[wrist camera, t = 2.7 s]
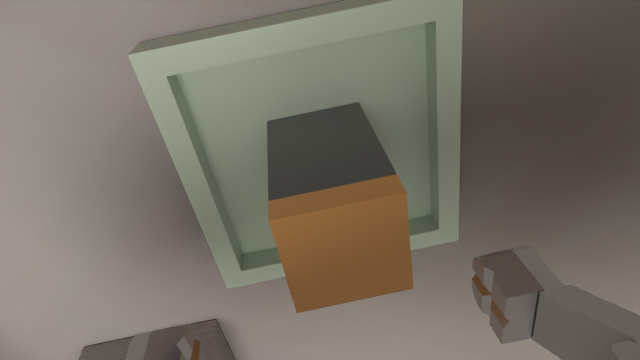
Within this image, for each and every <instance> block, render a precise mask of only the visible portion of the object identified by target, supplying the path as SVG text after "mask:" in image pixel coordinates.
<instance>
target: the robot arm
mask: <svg viewBox="0 0 640 360" xmlns="http://www.w3.org/2000/svg"><path fill="white" fill-rule="evenodd" d="M472 268H473V269H474V271H475V272H476V274H475V276H474V277H473V278H472V289H473V293H474V297H475V299H476V302H477V304H478V306H479V307H480V309H481V311H482V312H484V313H486V314H488V315H489V316H490V326H491V327H492V329H493V331H494V332H495V334H496V336H497V337H498V339H499V340H500V342H501V344H504V343H509V342H514V341H519V340H524V339H529V338H532V340H534V341H535V342H537V343H538V344H540V345H541V346H543V347H544V348H546V349H547V350H549V351H550V352H552V353H553V354H555V355H556V356H558V357H559V358H560V359H562V360H640V315H637V314H635V313H633V312H631V311H628V310H626V309H624V308H622V307H619V306H617V305H615V304H612V303H610V302H608V301H606V300H603V299H601V298H599V297H597V296H594V295H592V294H590V293H587V292H585V291H583V290H581V289H578V288H576V287H574V286H571V285H567V286H564V285H563V283H562V282H561V281H560V280H559V279H558V278H557V277H556V276H555V275H554V273H553V272H552V271H551V270H550V269H549V268H548V267H547V266H546V264H545V263H544V262H543V261H542V260H541V259H540V258H539V257H538V256H537V254H536V253H535V252H534V251H533V250H532V249H531V248H530V247H529V246H527V245H525V246H521V247H517V248H512V249H509V250H503V251H499V252H495V253H491V254H487V255H483V256H479V257H475V258H474V260H473V266H472ZM194 337H195V330H194V328H193V327H192V325H191V324H185V325H180V326H175V327H170V328H165V329H160V330H155V331H152V332H147V333H142V334H137V335H135V336H134V337H133V339H132V340H131V342H130V346H129V349H128V352H127V355H126V359H125V360H206V355H205V351H204V348H203V346H202V344H201V342H200V341H198V340H196V339H194Z"/></svg>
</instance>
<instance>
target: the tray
mask: <svg viewBox="0 0 640 360" xmlns="http://www.w3.org/2000/svg"><path fill="white" fill-rule="evenodd" d="M462 21H463V0H344V1H339V2H334V3H329V4H324V5H320V6H315V7H310V8H305V9H300V10H295V11H290V12H286V13H281V14H276V15H271V16H266V17H261V18H256V19H252V20H247V21H242V22H237V23H232V24H227V25H222V26H218V27H213V28H208V29H203V30H198V31H193V32H188V33H183V34H179V35H174V36H169V37H164V38H159V39H154V40H149V41H145V42H140V43H139V44H138V45H137V46H136V47H135V48H134V49H133V50H132V51H131V52H130V53H129V54H128V57H129V59H130V62H131V64H132V66H133V69H134V71H135V73H136V76H137V78H138V80H139V83H140V85H141V87H142V90H143V92H144V95H145V97H146V99H147V102H148V104H149V106H150V109H151V111H152V113H153V116H154V118H155V120H156V123H157V125H158V127H159V130H160V132H161V134H162V137H163V139H164V142H165V144H166V146H167V149H168V151H169V153H170V156H171V158H172V160H173V163H174V165H175V167H176V170H177V172H178V174H179V177H180V179H181V182H182V184H183V186H184V189H185V191H186V193H187V196H188V198H189V200H190V203H191V205H192V207H193V210H194V212H195V214H196V217H197V219H198V221H199V224H200V226H201V229H202V231H203V233H204V236H205V238H206V240H207V243H208V245H209V247H210V250H211V252H212V254H213V257H214V259H215V261H216V264H217V266H218V269H219V271H220V273H221V276H222V278H223V280H224V283H225V285H226V287H227V289H231V288H236V287H240V286H245V285H250V284H255V283H259V282H264V281H269V280H274V279H278V278H283V277H286V276H285V273H284V269H283V266H282V263H281V260H280V256H279V253H278V250H277V247H276V243H275V240H274V237H273V233H272V230H271V227H270V224H269V207H268V153H267V121H270V120H274V119H279V118H284V117H289V116H294V115H298V114H303V113H308V112H313V111H318V110H323V109H327V108H332V107H337V106H342V105H347V104H351V103H356V102H359V104H360V106H361V108H362V109H363V111H364V113H365V115H366V117H367V119H368V121H369V123H370V124H371V126H372V128H373V130H374V132H375V134H376V136H377V138H378V139H379V141H380V143H381V145H382V147H383V149H384V151H385V153H386V154H387V156H388V158H389V160H390V162H391V164H392V166H393V168H394V169H395V171H396V173H397V175H398V177H399V179H400V181H401V183H402V184H403V186H404V188H405V190H406V192H407V204H408V219H409V234H410V249H411V250H416V249H421V248H425V247H430V246H435V245H440V244H444V243H449V242H454V241H459V187H460V132H461V77H462Z"/></svg>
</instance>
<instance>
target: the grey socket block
mask: <svg viewBox="0 0 640 360" xmlns="http://www.w3.org/2000/svg"><path fill="white" fill-rule="evenodd" d="M191 325H192V327H193V328H194V330H195V337H194V339H196V340H198V341H200V342H201V344H202V346H203V348H204V351H205V355H206V360H235V358H234V356H233V354H232V352H231V350H230V348H229V345H228V343H227V341H226V339H225V337H224V335H223V333H222V331H221V329H220V326H219V324H218V322H217V320H216V319H215V320H210V321H206V322H201V323H196V324H191ZM132 339H133V337H130V338H125V339H120V340H116V341H111V342H106V343H101V344H97V345H92V346H87V347H84V349H83V351H82V353H81V356H80V358H79V360H125V359H126V355H127V352H128V349H129V346H130V342H131V340H132Z"/></svg>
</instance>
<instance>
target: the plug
mask: <svg viewBox="0 0 640 360" xmlns="http://www.w3.org/2000/svg"><path fill="white" fill-rule="evenodd" d="M267 153H268V207H269V224H270V227H271V230H272V233H273V237H274V240H275V243H276V247H277V250H278V253H279V256H280V260H281V263H282V266H283V269H284V273H285V276H286V279H287V283H288V286H289V289H290V292H291V296H292V299H293V302H294V305H295V309H296V312H297V313H299V312H304V311H309V310H313V309H318V308H323V307H328V306H332V305H337V304H342V303H347V302H351V301H356V300H361V299H365V298H370V297H375V296H380V295H384V294H389V293H394V292H399V291H403V290H408V289H413V279H412V264H411V249H410V234H409V219H408V204H407V192H406V190H405V188H404V186H403V184H402V183H401V181H400V179H399V177H398V175H397V173H396V171H395V169H394V168H393V166H392V164H391V162H390V160H389V158H388V156H387V154H386V153H385V151H384V149H383V147H382V145H381V143H380V141H379V139H378V138H377V136H376V134H375V132H374V130H373V128H372V126H371V124H370V123H369V121H368V119H367V117H366V115H365V113H364V111H363V109H362V108H361V106H360V104H359V102H356V103H351V104H347V105H342V106H337V107H332V108H327V109H323V110H318V111H313V112H308V113H303V114H298V115H294V116H289V117H284V118H279V119H274V120H270V121H267Z"/></svg>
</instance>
